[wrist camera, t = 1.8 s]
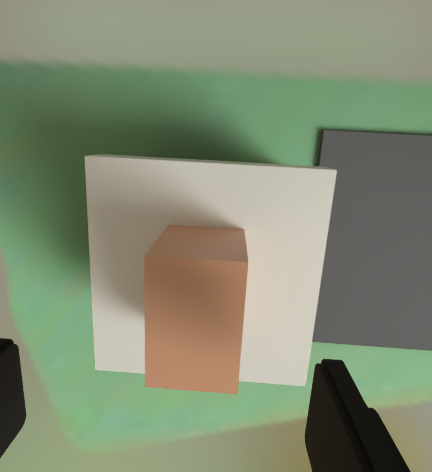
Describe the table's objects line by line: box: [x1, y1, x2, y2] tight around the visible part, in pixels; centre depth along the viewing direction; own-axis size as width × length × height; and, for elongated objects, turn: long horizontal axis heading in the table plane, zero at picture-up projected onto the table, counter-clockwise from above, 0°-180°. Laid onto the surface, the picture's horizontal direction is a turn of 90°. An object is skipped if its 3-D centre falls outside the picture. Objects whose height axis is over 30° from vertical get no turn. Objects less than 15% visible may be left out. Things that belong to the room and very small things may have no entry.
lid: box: [85, 154, 337, 394], centre depth 17 cm, size 13×13×7 cm
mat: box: [312, 130, 432, 351], centre depth 26 cm, size 17×17×1 cm
